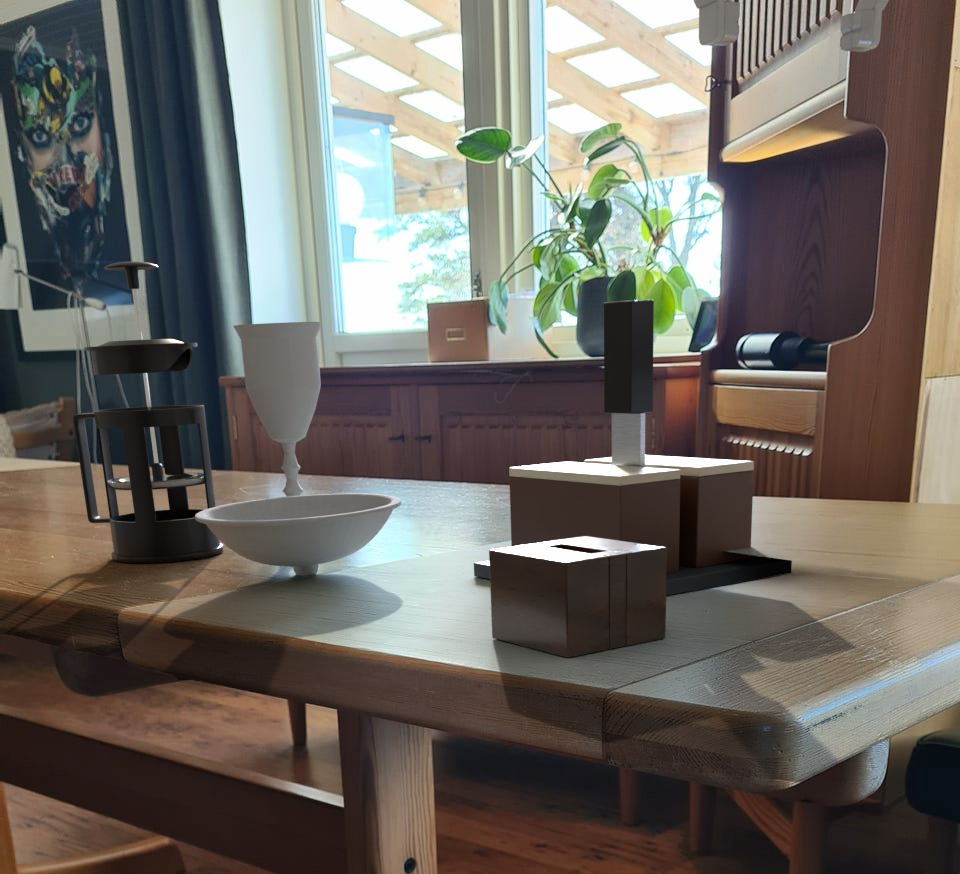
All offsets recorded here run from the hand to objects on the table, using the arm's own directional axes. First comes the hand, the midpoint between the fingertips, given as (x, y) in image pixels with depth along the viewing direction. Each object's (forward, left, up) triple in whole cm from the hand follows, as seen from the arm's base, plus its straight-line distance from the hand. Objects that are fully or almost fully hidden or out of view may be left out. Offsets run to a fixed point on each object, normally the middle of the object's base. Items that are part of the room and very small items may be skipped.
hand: (790, 46), depth 71 cm
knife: (+1, -12, -29) cm, 32 cm away
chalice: (+11, -44, -31) cm, 55 cm away
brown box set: (+1, -12, -30) cm, 33 cm away
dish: (+17, -31, -31) cm, 47 cm away
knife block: (+17, +2, -30) cm, 35 cm away
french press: (+21, -50, -31) cm, 63 cm away
